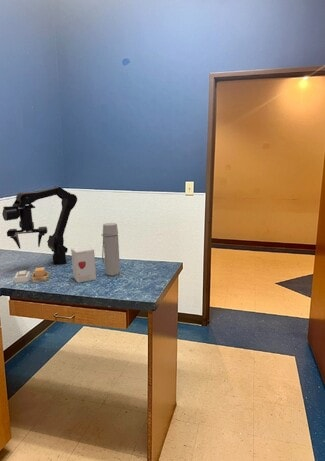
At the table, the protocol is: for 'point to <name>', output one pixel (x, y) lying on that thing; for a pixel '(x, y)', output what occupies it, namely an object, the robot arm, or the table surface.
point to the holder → (40, 278)
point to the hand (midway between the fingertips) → (29, 247)
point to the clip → (22, 277)
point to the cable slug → (22, 273)
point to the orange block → (39, 272)
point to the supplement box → (83, 263)
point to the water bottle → (111, 249)
